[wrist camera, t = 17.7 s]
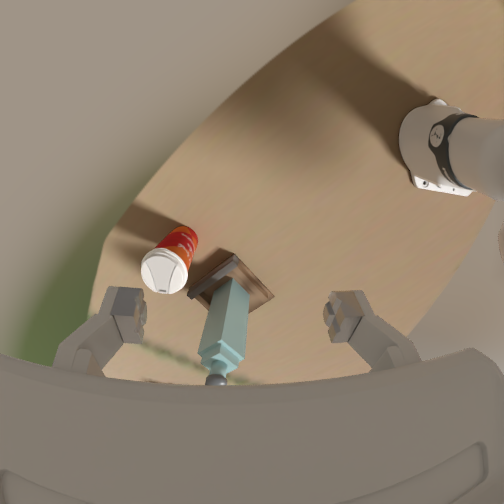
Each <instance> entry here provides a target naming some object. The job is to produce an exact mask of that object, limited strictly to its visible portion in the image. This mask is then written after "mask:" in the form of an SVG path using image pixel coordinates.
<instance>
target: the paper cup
mask: <svg viewBox="0 0 504 504" xmlns="http://www.w3.org/2000/svg"><path fill="white" fill-rule="evenodd" d="M197 243H198V238H197V235H196V233H195V232H194V231H193V230H192V229H191V228H189V227H186V226H180V227H177V228H175V229H174V230H173V231H172V232H170V233H169V234H168V235H167V236H166V237H165V238H164V239H163V240H162V241H161V242H160V243H159V244H158V245H157V246H156V247H155V248H154V249H153V250H152V251H150V252H148V253H147V254H146V255H145V256H144V258H143V259H142V262H141V275H142V278H143V280H144V282H145V284H146V285H147V286H148V287H149V288H150V289H151V290H153V291H155V292H159V293H164V294H166V293H169V294H172V293H174V292H176V291H178V290H180V289H181V288H182V287H183V286H184V285H185V283H186V281H187V278H188V270H189V267H190V264H191V261H192V259H193V256H194V253H195V250H196V247H197Z"/></svg>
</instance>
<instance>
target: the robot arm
mask: <svg viewBox="0 0 504 504" xmlns="http://www.w3.org/2000/svg"><path fill="white" fill-rule="evenodd" d="M399 147H400V152H401V155H402V157H403V160H404V162H405V164H406V165H407V167H408V168H409V170H410V172H411V176H412V181H413V184H414V186H415V187H417V188H420V189H427V190H433V191H439V192H445V193H450V194H456V195H461V196H468V195H469V194H470V193H471V192H472V191H475V192H476V191H477V192H480V193H482V194H484V195H486V196H488V197H490V198H492V199H494V200H498V201H504V120H499V119H485V118H479V117H477V116H474V115H471V114H467V113H464V112H462V111H461V110H460V108H458V107H455V106H448V105H447V104H446V103H445V102H444V101H442V100H441V99H434V100H433V101H432V102H430V103H429V104H428V105H426V106H421V107H417V108H415V109H413V110H412V111H410V112H409V113H408V114H407V116H406V117H405V118H404V120H403V122H402V125H401V128H400V132H399ZM424 181H425V184H423V182H424ZM498 241H499V249H500V254H501V258H502V261H503V264H504V222H503V224H502V227H501V229H500V231H499V234H498ZM143 298H144V292H143V289H141V288H128V287H114V286H109V287H108V288H107V291H106V293H105V296H104V299H103V302H102V305H101V307H100V310H99V313H98V314H95V315H93V316H92V317H91V318H90V319H89V320H87V321H86V322H85V323H84V324H83V325H81V326H80V327H79V328H78V329H77V330H75V331H74V332H73V333H72V334H71V335H70V336H68V337H67V338H66V339H65V340H64V341H63V342H62V343H60V345H59V347H58V350H57V353H56V356H55V359H54V362H53V365H52V367H48V366H44V365H40V364H36V363H31V362H27V361H24V360H21V359H17V358H13V357H10V356H7V355H4V354H0V504H504V375H503V374H502V372H501V370H500V369H499V367H498V366H497V365H496V363H495V362H494V361H493V360H491V359H490V358H488V357H487V356H486V355H484V354H483V353H482V352H480V351H478V350H476V349H475V348H467V349H464V350H461V351H458V352H455V353H451V354H448V355H444V356H441V357H437V358H433V359H430V360H426V361H421V358H420V356H419V354H418V352H417V350H416V348H415V346H414V344H413V342H412V341H411V340H409V339H408V338H407V337H405V336H404V335H403V334H401V333H400V332H399V331H398V330H396V329H395V328H394V327H392V326H391V325H390V324H388V323H387V322H386V321H384V320H383V319H382V318H380V317H379V316H378V315H377V316H375V314H374V312H373V310H372V308H371V306H370V304H369V302H368V300H367V298H366V296H365V294H364V292H363V291H362V290H352V291H332V292H331V293H330V294H329V297H328V298H329V302H328V303H326V304H325V307H324V311H323V317H324V322H325V324H326V325H327V326H328V327H329V330H328V334H329V337H330V340H331V343H341V342H348V344H349V345H350V346H351V347H352V348H353V349H354V350H355V351H356V352H357V353H358V354H359V355H360V356H361V357H362V358H363V359H364V360H365V361H366V362H367V363H368V364H369V365H370V366H371V367H372V369H371V370H370V371H369V373H365V374H359V375H352V376H346V377H339V378H331V379H323V380H315V381H305V382H294V383H281V384H263V385H182V384H165V383H152V382H141V381H131V380H123V379H115V378H107V377H105V375H104V373H103V372H102V369H103V367H104V366H105V365H106V364H107V363H108V362H109V360H110V359H111V358H112V357H113V356H114V355H115V353H116V352H117V351H118V350H119V349H120V347H121V346H122V345H123V343H134V344H142V340H143V335H144V329H143V325H144V324H146V319H147V306H146V302H145V301H144V300H143Z"/></svg>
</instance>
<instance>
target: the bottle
mask: <svg viewBox="0 0 504 504" xmlns="http://www.w3.org/2000/svg"><path fill="white" fill-rule="evenodd" d="M249 298H250V295H249V294H248V293H247V292H246V291H245V290H244V289H243V288H242V287H241V286H240V285H239V284H238V283H237V282H236V281H235V280H234V279H233V278H232V279H231V280H229V281H228V282H226V283H225V284H224V285H222V286H221V287H219V288H218V289H217V290H215V291H214V293H213V297H212V301H211V304H210V308H209V312H208V315H207V319H206V323H205V326H204V330H203V334H202V338H201V342H200V345H199V349H198V354H199V355H200V356H201V357H202V359H201V364H202V365H204V366H205V367H206V368H207V369H209V370H210V373H209V376H207V378H206V383H205V385H227V379H226V374H227V373H229V372H231V371H233V370H235V369H237V368H238V364H239V362H240V361H242V360H243V359H245V348H246V336H247V323H248V311H249Z"/></svg>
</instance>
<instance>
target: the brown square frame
mask: <svg viewBox="0 0 504 504" xmlns="http://www.w3.org/2000/svg"><path fill="white" fill-rule="evenodd" d="M232 278H233V279H234V280H235V281H236V282H237V283H238V284H239V285H240V286H241V287H242V288H243V289H244V290H245V291H246V292H247V293H248V294H249V295H250V298H249V311H248V314H249V313H250V312H252V311H253V310H255V309H257V308H258V307H260V306H261V305H263V304H264V303H266V302H268V301H269V300H271V299H272V298H274V295H273V294H272V293H271V292H270V291H269V290H268V289H267V288H266V287H265V286H264V285H263V284H262V283H261V281H260V280H259V279H258V278H257V277H256V276H255V275H254V274H253V273H252V272H251V271H250V270H249V269H248V268H247V267H246V265H245V264H244V263H243V262H242V261H241V260H240V259H239V258H238V257H237V256H236V255H235V254H233V255H232V256H231V257H229V258H228V259H227V260H225V261H224V262H223V263H221V264H220V265H219V266H217V267H216V268H215V269H213V270H212V271H211V272H209V273H208V274H207V275H205V276H204V277H203V278H201V279H200V280H199V281H197V282H196V283H195V284H194V285H192V286H191V287H190V288H189V291H188V293H187V296H188V297H189V298H190V299H191V300H192V299H193V298H196V299H197V300H198V301H199V302H200V303H201V304H202V305H203V306H204V307H205V308H206V309H207V310H208V311H209V308H210V304H211V301H212V297H213V293H214V291H215V290H217V289H218V288H219V287H221V286H222V285H224V284H225V283H226V282H228V281H229V280H231V279H232Z"/></svg>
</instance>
